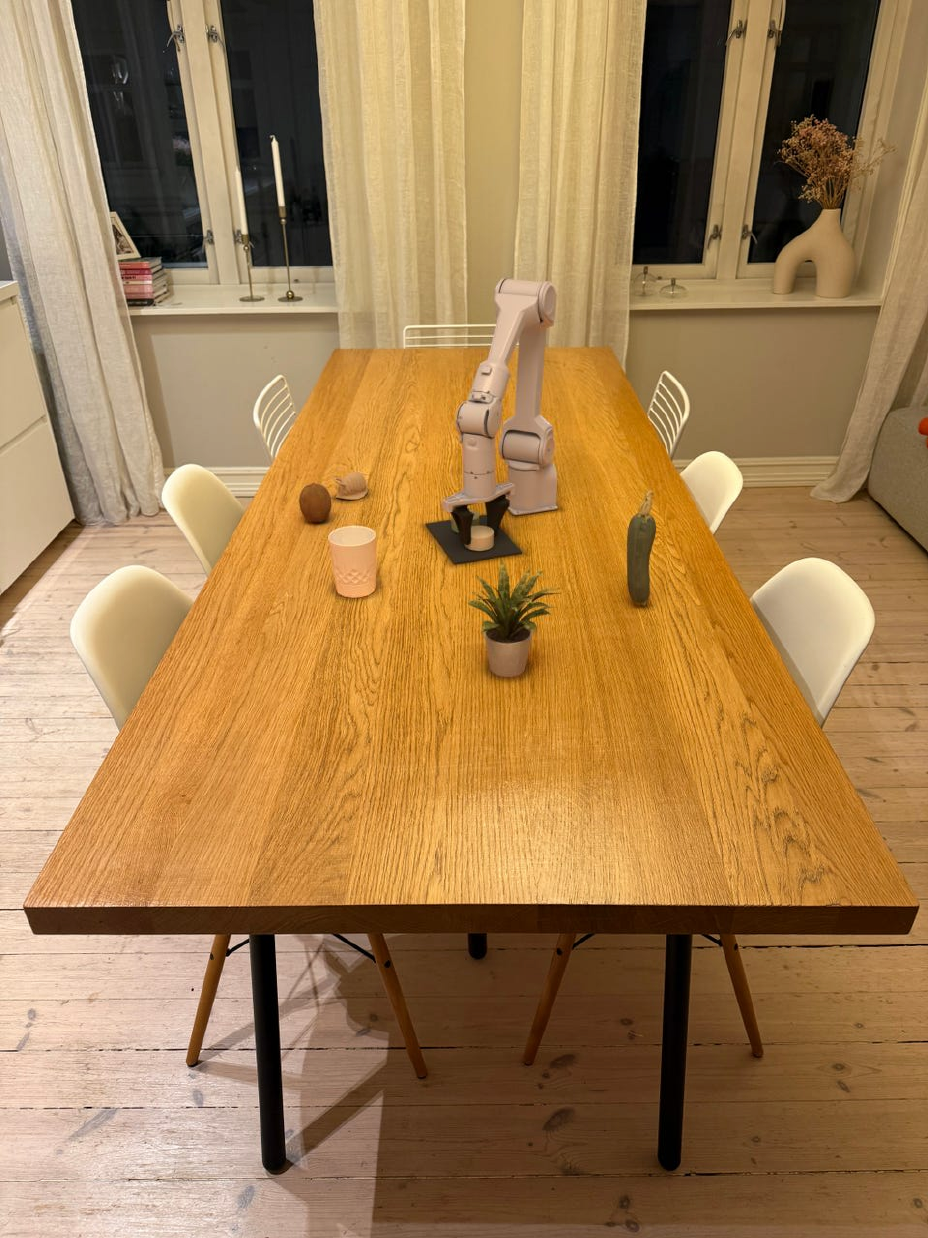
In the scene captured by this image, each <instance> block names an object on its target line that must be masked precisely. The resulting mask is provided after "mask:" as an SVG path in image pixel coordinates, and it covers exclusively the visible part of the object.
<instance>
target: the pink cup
mask: <svg viewBox="0 0 928 1238" xmlns="http://www.w3.org/2000/svg"><path fill="white" fill-rule="evenodd" d="M327 539H328V540H327V541H328V546H329V547H328V548H329V555H330V562H331V568H332V573H333V577H334V584H335V590H336V592H337V594H339V595H340V596H342V597H345V598H350V599H355V598H357V599H358V598H363V597H366V596H369V595H371V594H373V593H374V592H375V590H376V588H377V576H376V575H377V532H376V531H375V530H374V529H372V528H370V527H368V526H362V525H348V526H342V527H339V528H335V529H334V530H332V531H330V532H329V533H328V536H327Z"/></svg>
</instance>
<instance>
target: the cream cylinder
mask: <svg viewBox="0 0 928 1238" xmlns="http://www.w3.org/2000/svg"><path fill="white" fill-rule="evenodd" d="M493 546H494V530H493V529H492V528H490V527H487V526H472V527H471V543H470V545H466V544H465V547H466V548H468V549H470V550H474V551H484V550H488V549H491V548H492V547H493Z"/></svg>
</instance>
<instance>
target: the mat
mask: <svg viewBox="0 0 928 1238" xmlns="http://www.w3.org/2000/svg"><path fill="white" fill-rule="evenodd" d="M479 523H480V526H487V514H481V515H480V514H479ZM425 527H426V528H427V529H428V531H429V532H430V533H431V535H432V536H433V538H434V539H435V540H436V542H437V543H438V544H439V546H440V548H441V549H442V550H443V552H444V553H445V554H446V555H447V557H448V559H449V560H450V561H451V563H453V565H461V564H467V563H474V562H480V561H487V560H491V559H492V560H493V559H499V558H506V557H511V556H516V555H522V554H523V551H522V550H521V549H520V547H519V546H518V545H517V544H516V543H515V542H514V540H512V539H511V537H509V535H508V534H507V533H506V532H505V530H504V529H503V528H502V527H501V526H500V527H499V530H498V534H497V537H494V546H493V547H492V548H491V549H488V550H484V551H474V550H470V549H468V548H466V547H465V544H464V543H462V542H461V538H460V535H459V533H458V532H455V531H453V530H452V529H451V519H448V520H441V521H433V522H427V523H425Z"/></svg>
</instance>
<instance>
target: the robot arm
mask: <svg viewBox="0 0 928 1238" xmlns="http://www.w3.org/2000/svg"><path fill="white" fill-rule="evenodd" d="M557 298H558V297H557V292H556V289H555V286H554V285H553V283H552V282H551V281H549V280H545V281H539V280H537V281H536V280H525V279H515V278H514V279H513V278H508V277H502V278H500V279H499V281H498V283H497V285H496V286H495V289H494V294H493V302H494V305H493V306H494V311H495V312H494V313H495V315H496V318H497V319H496V324H495V327H494V332H493V337H492V340H491V345H490V348H489V353H488V357H487V359H486V360H484V361H482V362H480V364H479V365H478V368H477V370H476V374H475V376H474V379H473V382H472V385H471V388H470V391H469V394H468V397H467V400H466V401H464V402H462V403H460V405H459V406H458V408H457V411H456V417H455V429H456V431H457V433H458V441H459V443H460V444H461V446H462V449H461V450H462V490H460V491H458V492H456V493H454V494H452V495H450V496H448V497H446V498H442V499H441V509H442V511H444V512H445V513H447V514H450V516H451V515H452V517H453V519H454V521H455V523H456V525H457V528H458V531H459V535H460V538H461V542H462V543H464V544H466V545H470V543H471V525H472V520H473V517H474V514H473V513H472V512H470V511H469V510H470V508H468V507H469V506H473V505H477V504H484V506H485V512H486V515H487V527H490V528H492V529H493V530H494V537H497V534H498V530H499V527H501V523H502V521H503V518H504V516H505V514H506V512H507V510H508V511H509V512H510V513H511V514H512V515H513V516H521V515H527V514H535V513H541V512H547V511H554V510H558V509H559V507H558V506H557V498H558V473H557V472H558V471H557V469H556V465H555V464H554V462H553V461H552V460H553V457H554V454H555V447H556V445H555V444H556V443H555V439H554V426H553V425H552V424H551V422H549V421H548V420H547V419H546V418H545V417H543V416H542V414H541V409H542V394H543V383H544V382H543V381H544V380H543V379H544V367H545V353H546V352H545V351H546V339H547V329H548V328H551V327H553V326H554V325H555V320H556V311H557ZM517 344H518V353H517V367H516V384H515V385H516V386H515V388H516V389H515V401H514V415H512V416H511V417H509V418H507V419H506V420H505V421H504V422H503V424H502V418H503V410H504V405H503V404H502V403H503V399H504V396H505V394H506V390H507V388H508V384H509V381H510V378H511V372H510V370H509V368H508V365H509V362H510V360H511V358H512V355H513V353H514V351H515V349H516V346H517ZM500 429H501V433H500V437H499V439H498V449H497V450H498V454H499V456H500V459H502V460H503V461H504V465H505V466H507V482H506V481H505V482H502V483H501V482H500V483H496V436H497V435H498V433H499V431H500Z"/></svg>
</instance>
